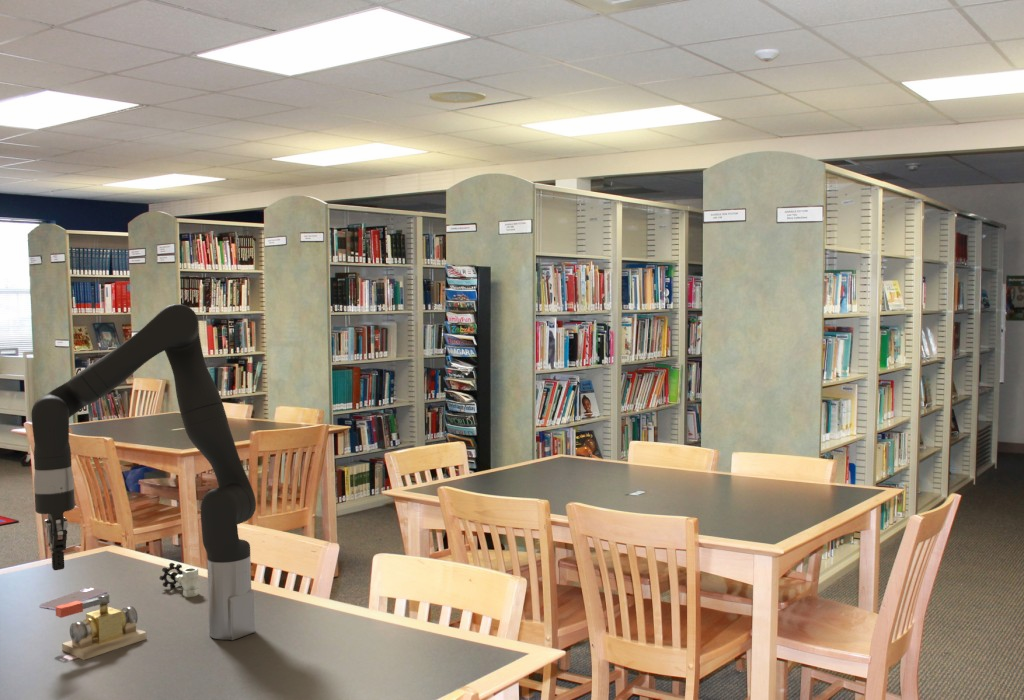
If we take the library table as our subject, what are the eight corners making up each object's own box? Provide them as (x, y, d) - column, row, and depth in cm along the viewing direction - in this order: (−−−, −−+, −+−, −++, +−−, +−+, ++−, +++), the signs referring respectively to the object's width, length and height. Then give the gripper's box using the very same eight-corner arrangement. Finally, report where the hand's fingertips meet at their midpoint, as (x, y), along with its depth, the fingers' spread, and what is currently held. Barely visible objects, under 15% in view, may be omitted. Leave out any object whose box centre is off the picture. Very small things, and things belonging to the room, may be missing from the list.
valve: (207, 593, 224) (183, 584, 232) (206, 568, 224) (182, 559, 232) (182, 600, 220) (159, 590, 227) (182, 574, 219) (158, 565, 227)
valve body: (139, 631, 194) (138, 597, 194) (81, 649, 184) (80, 614, 183) (126, 626, 197) (125, 593, 197) (68, 644, 187) (67, 610, 186)
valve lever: (106, 601, 192) (105, 592, 192) (111, 603, 190) (111, 594, 190) (55, 615, 183) (55, 606, 183) (61, 617, 182) (60, 608, 182)
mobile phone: (36, 604, 216) (88, 586, 229) (37, 608, 216) (88, 590, 230) (58, 608, 213) (109, 589, 226) (58, 612, 213) (109, 593, 226)
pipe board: (146, 638, 194) (145, 622, 193) (84, 659, 182) (83, 642, 182) (124, 630, 199) (123, 614, 199) (62, 650, 188) (61, 633, 187)
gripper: (78, 491, 184) (82, 572, 184) (69, 482, 194) (73, 559, 195) (38, 496, 179) (42, 579, 180) (30, 486, 190) (34, 565, 191)
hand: (58, 568), depth 188 cm, fingers closed
